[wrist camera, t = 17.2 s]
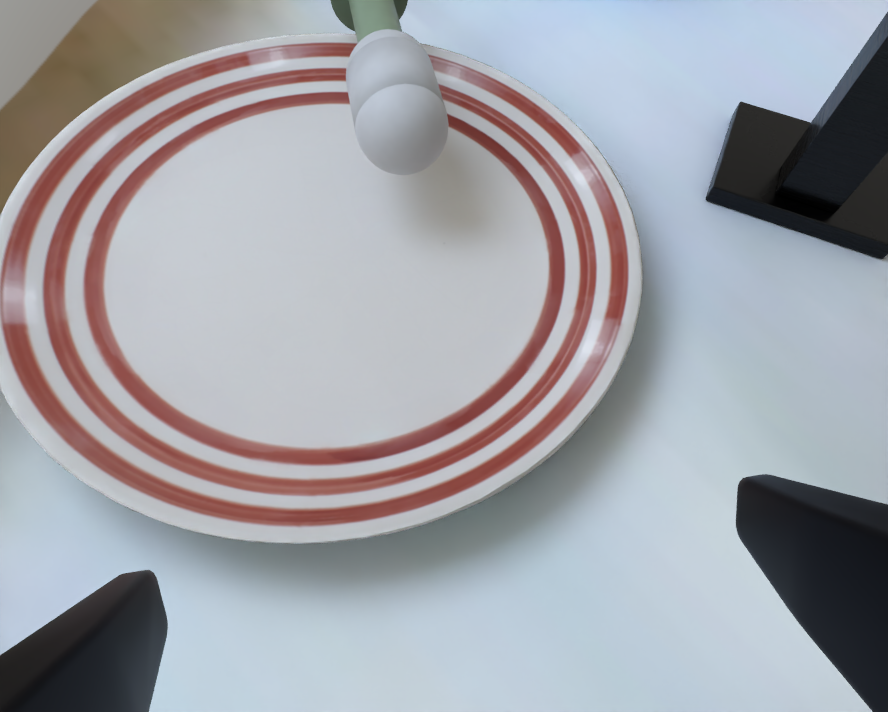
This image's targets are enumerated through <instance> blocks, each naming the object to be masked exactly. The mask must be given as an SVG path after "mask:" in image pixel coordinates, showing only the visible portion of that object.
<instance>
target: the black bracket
mask: <svg viewBox="0 0 888 712" xmlns="http://www.w3.org/2000/svg"><path fill="white" fill-rule="evenodd" d="M706 200H707V201H710V202H713V203H716V204H719V205H722V206H725V207H728V208H731V209H734V210H737V211H740V212H743V213H746V214H749V215H752V216H755V217H758V218H761V219H764V220H767V221H770V222H773V223H775V224H778V225H781V226H784V227H787V228H790V229H793V230H796V231H799V232H802V233H805V234H808V235H811V236H814V237H817V238H820V239H823V240H826V241H829V242H832V243H835V244H838V245H841V246H844V247H847V248H850V249H853V250H856V251H859V252H862V253H865V254H868V255H871V256H874V257H877V258H880V259H883V258H884V257H885V256H886V255H887V254H888V12H887V14H886V15H885V17H884V18H883V19H882V21H881V22H880V24H879V25H878V27H877V28H876V30H875V31H874V32H873V34H872V35H871V37H870V38H869V40H868V41H867V43H866V44H865V46H864V47H863V48H862V50H861V51H860V53H859V54H858V56H857V57H856V59H855V60H854V61H853V63H852V64H851V66H850V67H849V69H848V70H847V72H846V73H845V74H844V76H843V77H842V79H841V80H840V82H839V83H838V85H837V86H836V88H835V89H834V90H833V92H832V93H831V95H830V96H829V98H828V99H827V101H826V102H825V103H824V105H823V106H822V108H821V109H820V111H819V112H818V114H817V115H816V117H815V118H814V119H813V121H812V122H811V123H810V122H807V121H803V120H800V119H797V118H793V117H790V116H787V115H783V114H780V113H777V112H773V111H770V110H767V109H763V108H760V107H757V106H753V105H750V104H747V103H744V102H740V103H739V105H738V106H737V108H736V110H735V112H734V114H733V116H732V119H731V122H730V125H729V128H728V131H727V134H726V137H725V140H724V144H723V147H722V150H721V153H720V156H719V159H718V162H717V165H716V168H715V171H714V174H713V177H712V181H711V184H710V187H709V190H708V193H707V196H706Z"/></svg>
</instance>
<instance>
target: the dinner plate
mask: <svg viewBox="0 0 888 712" xmlns="http://www.w3.org/2000/svg"><path fill="white" fill-rule="evenodd" d="M357 44H358V42H357V37H356V34H342V33H317V34H299V35H287V36H278V37H270V38H263V39H257V40H252V41H247V42H241V43H237V44H232V45H227V46H224V47H221V48H217V49H213V50H210V51H206V52H202V53H199V54H196V55H193V56H190V57H187V58H184V59H181V60H178V61H175V62H173V63H170V64H168V65H165V66H163V67H160V68H158V69H156V70H154V71H152V72H149V73H147V74H145V75H143V76H141V77H139V78H137V79H135V80H133V81H132V82H130V83H128V84H127V85H124V86H122V87H120V88H119V89H117V90H115V91H114V92H112V93H110V94H109V95H107V96H106V97H104V98H103V99H101V100H100V101H99V102H97V103H96V104H94V105H93V106H91V107H90V108H89V109H87V110H86V111H84V112H83V113H82V114H80V115H79V116H78V117H77V118H76V119H74V120H73V121H72V122H71V123H70V124H68V125H67V126H66V127H65V128H64V129H63V130H62V131H61V132H60V133H59V134H58V135H57V136H56V137H55V138H54V139H53V140H52V141H51V142H50V143H49V144H48V145H47V146H46V147H45V148H44V150H43V151H42V152H41V153H40V154H39V155H38V157H37V158H36V159H35V160H34V161H33V163H32V164H31V165H30V166H29V168H28V169H27V170H26V172H25V173H24V174H23V176H22V177H21V179H20V180H19V182H18V184H17V185H16V187H15V189H14V190H13V192H12V194H11V195H10V197H9V199H8V201H7V203H6V205H5V207H4V209H3V211H2V213H1V215H0V389H1V391H2V393H3V395H4V397H5V399H6V400H7V402H8V404H9V406H10V407H11V409H12V411H13V412H14V414H15V415H16V417H17V418H18V420H19V421H20V422H21V424H22V425H23V426H24V427H25V429H26V430H27V431H28V432H29V434H30V435H31V436H32V437H33V439H34V440H35V441H36V442H37V443H38V444H39V445H40V446H41V447H42V448H43V449H44V450H45V451H46V452H47V453H48V454H49V455H50V456H51V458H52V459H54V460H55V461H56V462H57V463H58V464H59V465H61V466H62V467H63V468H64V469H66V470H67V471H68V472H70V473H71V474H72V475H74V476H75V477H76V478H78V479H79V480H81V481H82V482H84V483H85V484H87V485H88V486H90V487H92V488H93V489H95V490H96V491H98V492H100V493H101V494H103V495H104V496H106V497H108V498H109V499H111V500H113V501H115V502H117V503H119V504H121V505H123V506H125V507H127V508H129V509H131V510H133V511H136V512H138V513H141V514H143V515H146V516H148V517H151V518H153V519H156V520H158V521H161V522H163V523H166V524H170V525H173V526H177V527H180V528H183V529H187V530H190V531H193V532H197V533H202V534H207V535H211V536H216V537H221V538H226V539H233V540H241V541H249V542H257V543H283V544H292V543H300V544H319V543H330V542H340V541H349V540H356V539H364V538H369V537H375V536H380V535H386V534H391V533H395V532H399V531H404V530H408V529H411V528H415V527H418V526H421V525H425V524H428V523H431V522H434V521H437V520H439V519H442V518H445V517H447V516H450V515H452V514H454V513H457V512H459V511H462V510H464V509H466V508H469V507H471V506H474V505H476V504H478V503H480V502H482V501H484V500H486V499H488V498H490V497H492V496H493V495H495V494H497V493H499V492H501V491H502V490H504V489H506V488H507V487H509V486H510V485H512V484H514V483H515V482H517V481H518V480H520V479H521V478H523V477H524V476H526V475H527V474H528V473H530V472H531V471H532V470H534V469H535V468H536V467H538V466H539V465H540V464H542V463H543V462H544V461H546V460H547V459H548V458H549V457H551V456H552V455H553V454H555V453H556V452H557V451H558V450H559V449H560V448H561V447H562V446H563V445H564V444H565V443H566V442H567V441H568V440H569V439H570V438H571V437H572V436H573V435H574V434H575V433H576V431H577V430H578V429H579V428H580V427H581V426H582V424H583V423H584V422H585V421H586V420H587V419H588V417H589V416H590V415H591V414H592V413H593V411H594V410H595V409H596V407H597V406H598V404H599V403H600V402H601V400H602V399H603V397H604V396H605V395H606V393H607V391H608V390H609V388H610V386H611V385H612V383H613V381H614V380H615V378H616V376H617V374H618V372H619V370H620V368H621V366H622V364H623V362H624V359H625V357H626V355H627V352H628V349H629V346H630V344H631V341H632V338H633V334H634V331H635V327H636V323H637V320H638V316H639V309H640V302H641V296H642V271H643V270H642V256H641V249H640V241H639V235H638V231H637V227H636V224H635V220H634V216H633V213H632V210H631V208H630V205H629V202H628V200H627V197H626V195H625V193H624V191H623V188H622V186H621V185H620V183H619V181H618V179H617V178H616V176H615V174H614V172H613V170H612V169H611V167H610V165H609V164H608V163H607V161H606V160H605V158H604V157H603V155H602V154H601V153H600V151H599V150H598V148H597V147H596V146H595V145H594V144H593V143H592V142H591V140H590V139H589V138H588V137H587V136H586V135H585V134H584V132H583V131H582V130H581V129H580V128H579V127H578V126H577V125H576V124H575V123H574V122H573V121H572V120H571V119H569V118H568V117H567V116H566V115H565V114H564V113H563V112H562V111H560V110H559V109H558V108H557V107H555V106H554V105H553V104H552V103H550V102H549V101H548V100H547V99H545V98H544V97H543V96H541V95H540V94H538V93H537V92H535V91H534V90H532V89H531V88H529V87H528V86H526V85H525V84H523V83H521V82H519V81H518V80H516V79H514V78H512V77H511V76H509V75H507V74H505V73H503V72H501V71H499V70H497V69H495V68H493V67H490V66H488V65H486V64H483V63H481V62H479V61H476V60H474V59H471V58H469V57H466V56H463V55H460V54H457V53H454V52H451V51H448V50H445V49H441V48H437V47H434V46H430V45H426V44H421V43H420V44H421V45H422V46H423V48H424V49H425V51H426V52H427V54H428V56H429V58H430V60H431V63H432V66H433V69H434V73H435V76H436V79H437V82H438V86H439V89H440V92H441V95H442V99H443V102H444V105H445V108H446V112H447V117H448V124H449V125H448V136H447V140H446V144H445V146H444V148H443V150H442V152H441V154H440V156H439V157H438V158H437V159H436V161H434V162H433V163H432V164H431V165H430V166H429V167H427V168H426V169H424V170H422V171H420V172H418V173H414V174H410V175H397V174H392V173H388V172H386V171H383V170H381V169H380V168H378V167H377V166H375V165H374V164H373V163H372V162H371V161H370V160H369V159H368V158H367V157H366V155H365V154H364V153H363V151H362V149H361V148H360V145H359V142H358V140H357V137H356V133H355V128H354V122H353V117H352V112H351V106H350V101H349V96H348V90H347V84H346V68H347V64H348V61H349V57H350V54H351V53H352V51H353V49H354V47H355V46H356V45H357Z"/></svg>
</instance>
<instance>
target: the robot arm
mask: <svg viewBox="0 0 888 712" xmlns="http://www.w3.org/2000/svg"><path fill="white" fill-rule="evenodd" d="M736 528H737V532H738V535H739V537H740V539H741V541H742V542H743V544H744V545H745V547H746V548H747V550H748V551H749V553H750V554H751V555H752V557H753V558H754V560H755V561H756V563H757V564H758V566H759V567H760V568H761V570H762V571H763V573H764V574H765V576H766V577H767V579H768V580H769V581H770V583H771V584H772V586H773V587H774V589H775V590H776V592H777V593H778V594H779V596H780V597H781V599H782V600H783V602H784V603H785V605H786V606H787V607H788V609H789V610H790V612H791V613H792V614H793V616H794V617H795V618H796V620H797V621H798V622H799V624H800V625H801V626H802V627H803V629H804V630H805V631H806V632H807V634H808V635H809V636H810V637H811V638H812V640H813V641H814V642H815V643H816V644H817V646H818V647H819V648H820V649H821V650H822V652H823V653H824V654H825V655H826V656H827V658H828V659H829V660H830V661H831V662H832V664H833V665H834V666H835V667H836V668H837V669H838V671H839V672H840V673H841V674H842V675H843V677H844V678H845V679H846V680H847V681H848V683H849V684H850V685H851V686H852V687H853V689H854V690H855V691H856V692H857V693H858V695H859V696H860V697H861V698H862V699H863V700H864V702H865V703H866V704H867V705H868V706H869V708H870V709H871V710H872V711H873V712H888V505H887V504H883V503H879V502H875V501H871V500H867V499H863V498H859V497H855V496H851V495H847V494H843V493H840V492H836V491H832V490H828V489H824V488H820V487H816V486H812V485H808V484H804V483H800V482H796V481H792V480H788V479H784V478H780V477H776V476H772V475H767V474H765V475H757V476H751V477H745V478H743V479H742V480H741V481H740V482H739V485H738V492H737V511H736ZM167 629H168V623H167V616H166V612H165V608H164V605H163V601H162V597H161V593H160V589H159V585H158V581H157V578H156V576H155V575H154V573H153V572H151V571H150V570H144V571H138V572H131V573H125V574H122V575H119V576H118V577H116V578H115V579H113V580H112V581H110V582H109V583H107V584H106V585H104V586H103V587H101V588H100V589H98V590H97V591H95V592H94V593H92V594H91V595H89V596H88V597H86V598H85V599H83V600H82V601H80V602H79V603H77V604H76V605H74V606H73V607H71V608H70V609H69V610H67V611H66V612H64V613H63V614H61V615H60V616H58V617H57V618H55V619H54V620H52V621H51V622H49V623H48V624H46V625H45V626H43V627H42V628H40V629H39V630H37V631H36V632H34V633H33V634H31V635H30V636H28V637H27V638H25V639H24V640H22V641H21V642H19V643H18V644H17V645H15V646H14V647H12V648H11V649H9V650H8V651H6V652H5V653H3V654H2V655H0V712H149V708H150V704H151V700H152V696H153V692H154V687H155V683H156V679H157V675H158V670H159V666H160V662H161V658H162V654H163V649H164V645H165V641H166V637H167Z"/></svg>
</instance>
